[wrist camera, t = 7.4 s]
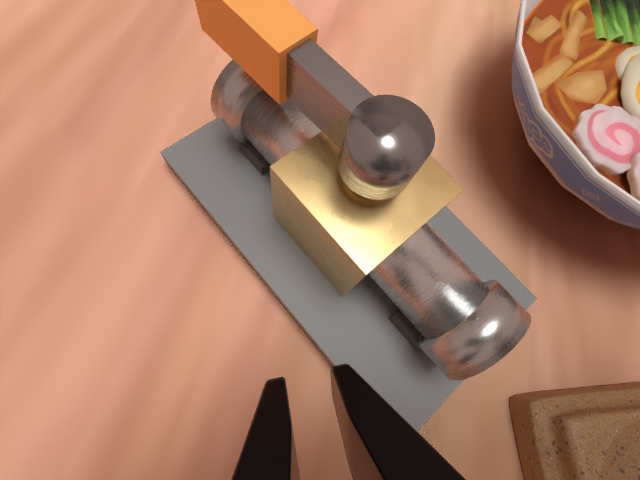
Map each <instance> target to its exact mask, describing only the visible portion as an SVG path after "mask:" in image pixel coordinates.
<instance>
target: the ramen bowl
mask: <svg viewBox="0 0 640 480" xmlns="http://www.w3.org/2000/svg"><path fill="white" fill-rule="evenodd" d="M512 92H513V97H514V102H515V105H516V108H517V111H518V115H519V118H520V121H521V124H522V127H523V130H524V133H525V136H526V139H527V142H528V145H529V146H530V147H531V148H532V150H533V151H534V152H535V153H536V155H537V156H538V157H539V159H540V160H541V161H542V162H543V164H544V165H545V166H546V167H547V169H548V170H549V171H550V172H551V174H552V175H553V176H554V177H555V179H556V180H557V181H558V182H559V184H560V185H561V186H562V187H564V188H565V189H567V190H568V191H569V192H571V193H572V194H574V195H575V196H576V197H578V198H579V199H581V200H582V201H584V202H585V203H586V204H588V205H589V206H591V207H592V208H593V209H595V210H596V211H598V212H599V213H601V214H602V215H603V216H605V217H606V218H608V219H610V220H613V221H615V222H618V223H620V224H622V225H626V226H629V227H632V228H636V229H639V230H640V0H521V4H520V10H519V15H518V20H517V28H516V36H515V45H514V53H513V62H512Z"/></svg>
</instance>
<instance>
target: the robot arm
mask: <svg viewBox="0 0 640 480" xmlns="http://www.w3.org/2000/svg"><path fill="white" fill-rule="evenodd" d="M331 385H332V396H333V401H334V405H335V410H336V414H337V418H338V422H339V427H340V431H341V435H342V439H343V444H344V448H345V452H346V457H347V460H348V464H349V468H350V471H351V474H352V478H353V480H466V479H465V478H464V477H463V476H462V475H461V474H460V473H459V472H458V471H456V470H455V469H454V468H453V467H452V466H451V465H450V464H449V463H448V462H447V461H446V460H445V459H444V458H443V457H442V456H441V455H440V454H439V453H438V452H437V451H436V450H435V449H434V448H433V447H432V446H431V445H430V444H429V443H428V442H427V441H426V440H425V439H424V438H423V437H422V436H421V435H420V434H419V433H418V432H417V431H416V430H415V429H414V428H413V427H412V426H411V425H410V424H409V423H408V422H407V421H406V420H405V419H404V418H403V417H402V416H401V415H400V414H399V413H398V412H397V411H396V410H395V409H394V408H393V407H392V406H391V405H390V404H389V403H388V402H387V401H386V400H385V399H384V398H382V397H381V396H380V395H379V394H378V393H377V392H376V391H375V390H374V389H373V388H372V387H371V386H370V385H369V384H368V383H367V382H366V381H365V380H364V379H363V378H362V377H361V376H360V375H359V374H358V373H357V372H356V371H355V370H354V369H353V368H352V367H351V366H350V365H349V364H341V365H336V366H333V367H331ZM231 480H300V476H299V468H298V462H297V455H296V448H295V442H294V435H293V428H292V421H291V415H290V408H289V401H288V395H287V388H286V382H285V378H284V377H279V378H274V379H269V380H267V381H266V383H265V386H264V388H263V391H262V394H261V397H260V400H259V403H258V405H257V408H256V411H255V414H254V417H253V420H252V422H251V425H250V428H249V431H248V434H247V437H246V439H245V442H244V445H243V448H242V451H241V454H240V457H239V459H238V462H237V465H236V468H235V471H234V474H233V476H232V479H231Z"/></svg>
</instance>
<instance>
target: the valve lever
mask: <svg viewBox="0 0 640 480" xmlns="http://www.w3.org/2000/svg"><path fill="white" fill-rule="evenodd" d="M195 3H196V7H197V11H198V15H199V19H200V23H201V27H202V30H203V31H204V32H205V33H206V34H208V35H209V36H210V37H211V38H212V39H213V40H214V41H215V42H216V43H217V44H218V45H219V46H220V47H221V48H222V49H223V50H224V51H225V52H226V53H227V54H228V55H229V56H230V57H231V58H232V59H233V60H234V61H235V62H236V63H237V64H238V65H239V66H240V67H241V68H242V69H243V70H244V71H245V72H246V73H247V74H249V75H250V76H251V77H252V78H253V79H254V80H255V81H256V82H257V83H258V84H259V85H260V86H261V87H262V88H263V89H264V90H265V91H266V92H267V93H268V94H269V95H270V96H271V97H272V98H273V99H274V100H275V101H276V102H277V103H278V104H279V105H280V104H281V103H283V102H284V101H286V100H287V99H289V100H290V101H291V102H292V103H293V104H294V105H295V106H296V107H297V108H298V109H299V110H300V111H301V112H302V113H303V114H304V115H305V116H306V117H307V118H309V119H310V120H311V121H312V122H313V123H314V124H315V125H316V126H317V127H318V128H319V129H320V130H321V131H322V132H323V133H324V134H325V135H326V136H327V137H328V138H329V139H330V140H331V141H332V142H333V143H334V144H335V145H336V146H337V147H339V148H340V149H341V150H340V154H339V158H338V168H339V172H340V175H341V177H342V179H343V181H344V182H345V184H346V185H347V186H348V187H349V188H350V189H351V190H352V191H354V192H355V193H357V194H359V195H360V196H363V197H365V198H369V199H374V200H383V199H389V198H392V197H394V196H396V195H398V194H400V193H401V192H402V191H403V190H404V189H405V188H406V187H407V185H408V184H409V183H410V181H411V180H412V178H413V177H414V176H415V174H416V173H417V172H418V170H419V169H420V168H421V166H422V165H423V164H424V162H425V161H426V160H427V158H428V157H429V155H430V154H431V152H432V150H433V147H434V143H435V133H434V128H433V125H432V123H431V121H430V119H429V118H428V116H427V115H426V114H425V112H424V111H423V110H422V109H421V108H420V107H418V106H417V105H416V104H414V103H413V102H411V101H409V100H407V99H404V98H402V97H398V96H393V95H378V96H373V95H372V94H371V93H370V92H369V91H368V90H367V89H366V88H365V87H363V86H362V85H361V84H360V83H359V82H358V81H357V80H356V79H355V78H354V77H352V76H351V75H350V74H349V73H348V72H347V71H346V70H345V69H344V68H343V67H341V66H340V65H339V64H338V63H337V62H336V61H335V60H334V59H333V58H332V57H330V56H329V55H328V54H327V53H326V52H325V51H324V50H323V49H322V48H321V47H319V46H318V45H317V44H316V42H317V33H318V28H317V27H316V26H314V25H313V24H312V23H311V22H310V21H309V20H308V19H307V18H306V17H304V16H303V15H302V14H301V13H300V12H299V11H298V10H297V9H295V8H294V7H293V6H292V5H291V4H290V3H289V2H288V1H287V0H195Z"/></svg>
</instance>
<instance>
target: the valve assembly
mask: <svg viewBox="0 0 640 480" xmlns="http://www.w3.org/2000/svg"><path fill="white" fill-rule="evenodd" d="M211 107H212V111H213V113H214V114H215V116H216V117H217V118H216V119H215V120H213V121H211V122H210V123H208V124H206V125H205V126H203V127H201V128H200V129H198V130H196V131H195V132H193V133H191V134H190V135H188V136H186V137H185V138H183V139H181V140H180V141H178V142H176V143H174V144H173V145H171V146H169V147H168V148H166V149H164V150H163V151H161V152H160V153H161V154H162V156H163V158H164V159H165V161H166V163H167V164H168V166H169V167H170V168H171V169H172V170H173V172H174V173H175V174H176V175H177V177H178V178H179V179H180V180H181V181H182V183H183V184H184V185H185V186H186V188H187V189H188V190H189V191H190V192H191V194H192V195H193V196H194V197H195V199H196V200H197V201H198V202H199V203H200V205H201V206H202V207H203V208H204V210H205V211H206V212H207V213H208V214H209V216H210V217H211V218H212V219H213V221H214V222H215V223H216V224H217V225H218V227H219V228H220V229H221V230H222V232H223V233H224V234H225V235H226V236H227V238H228V239H229V240H230V241H231V243H232V244H233V245H234V246H235V247H236V249H237V250H238V251H239V252H240V254H241V255H242V256H243V257H244V258H245V260H246V261H247V262H248V263H249V265H250V266H251V267H252V268H253V269H254V271H255V272H256V273H257V274H258V276H259V277H260V278H261V279H262V280H263V282H264V283H265V284H266V285H267V287H268V288H269V289H270V290H271V291H272V293H273V294H274V295H275V296H276V298H277V299H278V300H279V301H280V302H281V304H282V305H283V306H284V307H285V309H286V310H287V311H288V312H289V313H290V315H291V316H292V317H293V318H294V320H295V321H296V322H297V323H298V324H299V326H300V327H301V328H302V329H303V331H304V332H305V333H306V334H307V335H308V337H309V338H310V339H311V340H312V341H313V343H314V344H315V345H316V346H317V348H318V349H319V350H320V351H321V352H322V354H323V355H324V356H325V357H326V359H327V360H328V361H329V362H330V363H331V365H332V366H336V365H341V364H349V365H350V366H351V367H352V368H353V369H354V370H355V371H356V372H357V373H358V374H359V375H360V376H361V377H362V378H363V379H364V380H365V381H366V382H367V383H368V384H369V385H370V386H371V387H372V388H373V389H374V390H375V391H376V392H377V393H378V394H379V395H380V396H381V397H382V398H384V399H385V400H386V401H387V402H388V403H389V404H390V405H391V406H392V407H393V408H394V409H395V410H396V411H397V412H398V413H399V414H400V415H401V416H402V417H403V418H404V419H405V420H406V421H407V422H408V423H409V424H410V425H411V426H412V427H413V428H414V429H415V430H416V431H418V430H419V429H420V428H421V427H422V426H423V425H424V424H425V422H426V421H427V420H428V419H429V418H430V417H431V416H432V415H433V414H434V412H435V411H436V410H437V409H438V408H439V407H440V406H441V405H442V403H443V402H444V401H445V400H446V399H447V398H448V397H449V396H450V395H451V393H452V392H453V391H454V390H455V389H456V388H457V387H458V386H459V385H460V383H461V382H462V381H463V380H464V379H467V378H470V377H472V376H475V375H477V374H479V373H481V372H483V371H484V370H486V369H488V368H489V367H491V366H492V365H494V364H495V363H496V362H498V361H499V360H500V359H502V358H503V357H504V356H505V355H506V354H508V353H509V352H510V351H511V350H512V349H513V348H514V347H515V346H516V345H517V344H518V343H519V341H520V340H521V339H522V338H523V336H524V335H525V333H526V332H527V330H528V328H529V325H530V322H531V316H530V314H529V313H528V312H527V311H526V310H527V309H528V308H529V307H530V305H531V304H532V303H533V302H534V301H535V300H536V299H537V298H536V297H535V296H534V295H533V294H532V293H531V292H530V291H529V290H528V289H527V288H526V287H525V286H524V285H523V284H522V283H521V282H520V281H519V280H518V279H517V278H516V277H515V276H514V275H513V274H512V273H511V272H510V271H509V270H508V269H507V268H506V267H505V266H504V265H503V264H502V263H501V262H500V261H499V260H498V258H497V257H496V256H495V255H494V254H493V253H492V252H491V251H490V250H489V249H488V248H487V247H486V246H485V245H484V244H483V243H482V242H481V241H480V240H479V239H478V238H477V237H476V236H475V235H474V234H473V233H472V232H471V231H470V230H469V229H468V228H467V227H466V226H465V225H464V224H463V223H462V222H461V221H460V220H459V219H458V218H457V217H456V216H455V215H454V214H453V213H452V212H451V211H450V210H449V209H448V208H447V207H446V205H447V204H448V203H450V202H451V201H452V200H453V199H454V198H455V197H456V196H457V195H458V194H459V193H461V192H462V191H463V190H464V188H463V187H462V186H461V185H460V184H459V183H458V182H457V181H456V180H455V179H454V178H453V177H452V176H451V175H450V174H449V173H448V172H447V171H446V170H445V169H444V168H443V167H442V166H441V165H440V164H439V163H438V162H437V161H436V160H435V159H434V158H433V157H432V156H431V155H429V157H428V158H427V160H426V161H425V162H424V164H423V165H422V166H421V168H420V169H419V170H418V172H417V173H416V174H415V176H414V177H413V178H412V180H411V181H410V183H409V184H408V185H407V187H406V188H405V189H404V190H403V191H402V192H401V193H400V194H398V195H396V196H394V197H392V198H389V199H383V200H374V199H369V198H365V197H363V196H360V195H359V194H357V193H355V192H354V191H352V190H351V189H350V188H349V187H348V186H347V185H346V184H345V182H344V181H343V179H342V177H341V175H340V172H339V168H338V158H339V154H340V150H341V149H340V148H339V147H337V146H336V145H335V144H334V143H333V142H332V141H331V140H330V139H329V138H328V137H327V136H326V135H325V134H324V133H323V132H322V131H321V130H320V129H319V128H318V127H317V126H316V125H315V124H314V123H313V122H312V121H311V120H310V119H309V118H307V117H306V116H305V115H304V114H303V113H302V112H301V111H300V110H299V109H298V108H297V107H296V106H295V105H294V104H293V103H292V102H291V101H290V100H289V99H287V100H286V101H284V102H283V103H281V104H280V105H279V104H278V103H277V102H276V101H275V100H274V99H273V98H272V97H271V96H270V95H269V94H268V93H267V92H266V91H265V90H264V89H263V88H262V87H261V86H260V85H259V84H258V83H257V82H256V81H255V80H254V79H253V78H252V77H251V76H250V75H249V74H247V73H246V72H245V71H244V70H243V69H242V68H241V67H240V66H239V65H238V64H237V63H236V62H235V61H234V60H232V61H231V62H230V63H229V64H228V65H227V66H226V67H225V68H224V69H223V71H222V72H221V74H220V75H219V77H218V78H217V80H216V82H215V84H214V87H213V90H212V94H211Z"/></svg>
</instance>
